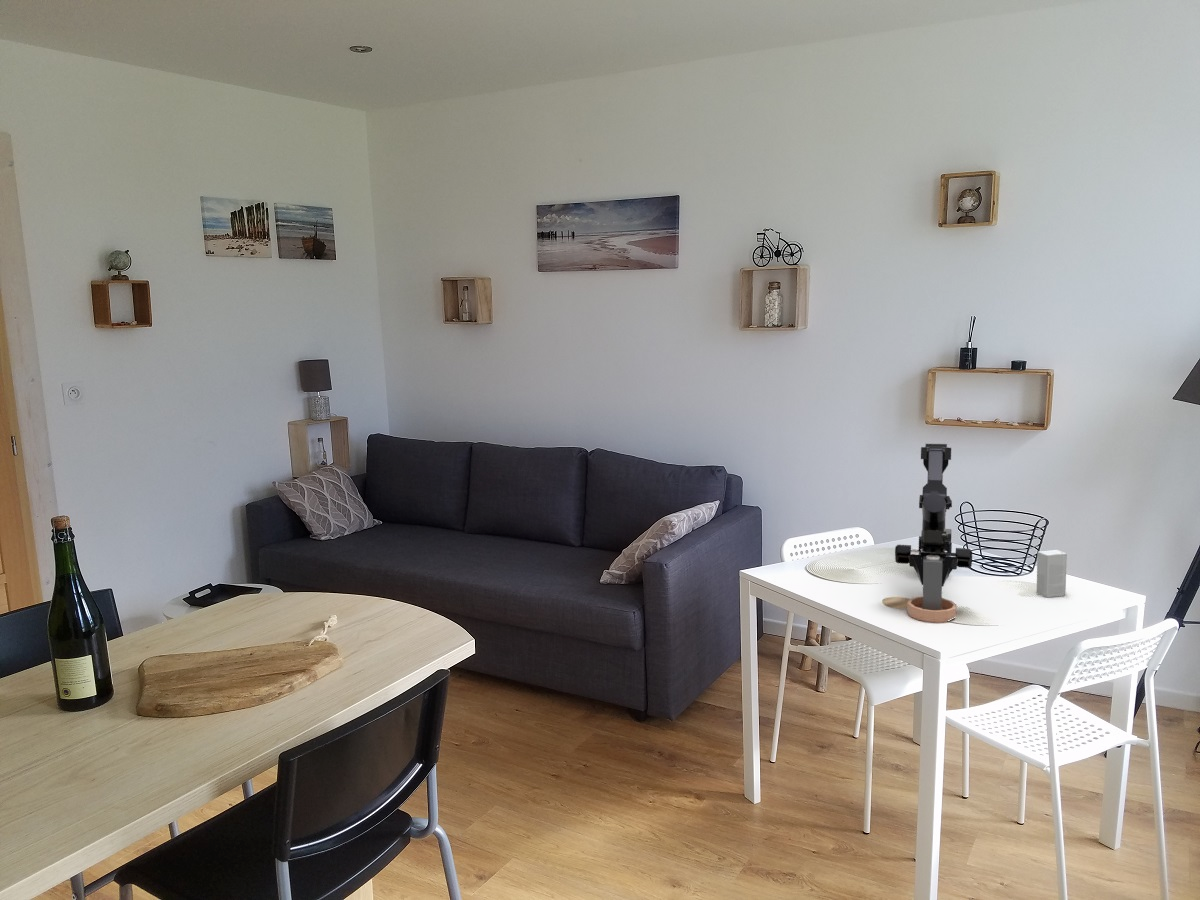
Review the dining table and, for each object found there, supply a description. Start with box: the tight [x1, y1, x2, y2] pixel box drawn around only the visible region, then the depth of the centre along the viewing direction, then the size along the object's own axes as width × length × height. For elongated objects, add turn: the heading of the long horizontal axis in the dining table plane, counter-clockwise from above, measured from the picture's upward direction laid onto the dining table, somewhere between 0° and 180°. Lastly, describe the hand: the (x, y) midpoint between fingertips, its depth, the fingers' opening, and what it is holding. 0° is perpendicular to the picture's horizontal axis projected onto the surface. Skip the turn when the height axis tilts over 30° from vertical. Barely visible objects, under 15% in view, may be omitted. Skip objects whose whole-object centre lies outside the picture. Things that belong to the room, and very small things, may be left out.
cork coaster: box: [881, 596, 910, 610], centre depth 232 cm, size 9×9×1 cm
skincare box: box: [1036, 549, 1068, 599], centre depth 233 cm, size 6×4×12 cm
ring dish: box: [906, 596, 958, 624], centre depth 222 cm, size 12×12×3 cm
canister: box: [922, 555, 943, 610], centre depth 221 cm, size 4×4×14 cm
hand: (932, 585), depth 220 cm, fingers closed on canister, 4 cm apart
